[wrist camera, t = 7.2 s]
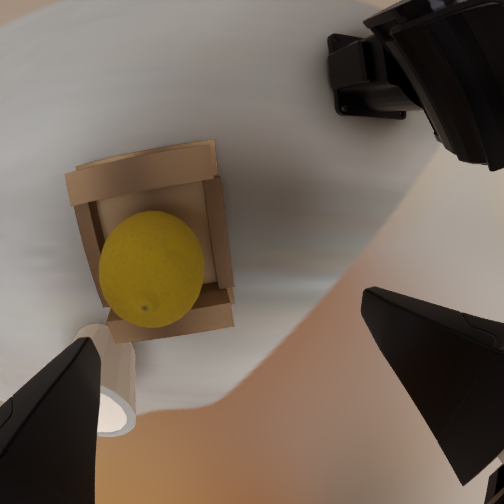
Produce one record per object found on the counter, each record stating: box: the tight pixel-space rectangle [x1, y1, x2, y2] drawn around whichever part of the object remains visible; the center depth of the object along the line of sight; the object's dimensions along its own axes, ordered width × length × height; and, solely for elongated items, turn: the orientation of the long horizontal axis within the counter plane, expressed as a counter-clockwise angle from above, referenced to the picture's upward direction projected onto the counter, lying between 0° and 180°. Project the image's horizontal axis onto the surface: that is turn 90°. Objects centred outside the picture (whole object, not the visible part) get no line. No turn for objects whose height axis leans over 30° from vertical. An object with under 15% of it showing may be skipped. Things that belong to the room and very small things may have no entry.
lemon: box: [99, 211, 204, 328], centre depth 14 cm, size 6×6×8 cm
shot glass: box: [70, 323, 136, 437], centre depth 18 cm, size 7×7×7 cm
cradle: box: [65, 140, 235, 344], centre depth 17 cm, size 9×12×4 cm
